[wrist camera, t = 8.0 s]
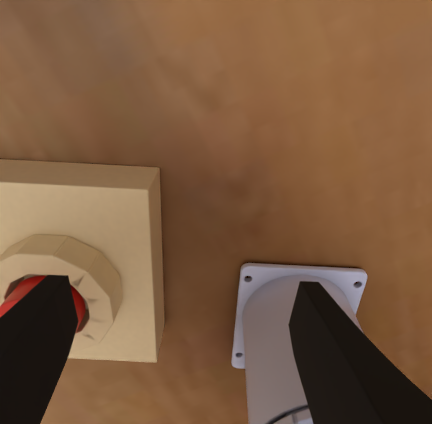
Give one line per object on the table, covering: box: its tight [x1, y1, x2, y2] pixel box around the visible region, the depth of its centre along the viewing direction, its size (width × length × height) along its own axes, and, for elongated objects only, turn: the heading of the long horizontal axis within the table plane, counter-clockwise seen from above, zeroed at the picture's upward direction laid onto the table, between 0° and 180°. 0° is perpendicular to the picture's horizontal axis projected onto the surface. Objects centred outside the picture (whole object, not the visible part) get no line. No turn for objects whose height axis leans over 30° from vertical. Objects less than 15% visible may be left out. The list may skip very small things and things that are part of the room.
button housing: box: [0, 159, 165, 363], centre depth 19 cm, size 12×10×5 cm
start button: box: [0, 276, 86, 331], centre depth 16 cm, size 4×4×2 cm
